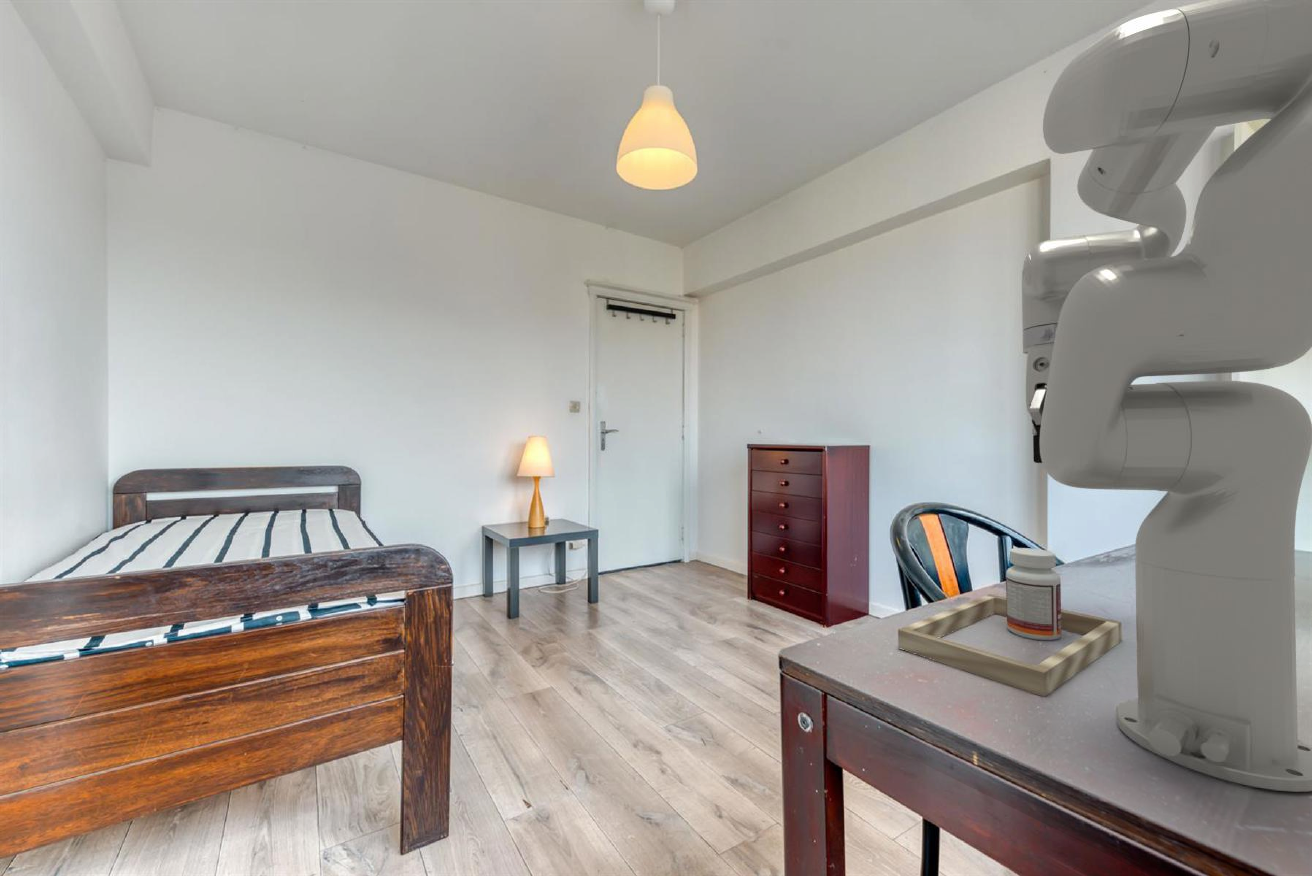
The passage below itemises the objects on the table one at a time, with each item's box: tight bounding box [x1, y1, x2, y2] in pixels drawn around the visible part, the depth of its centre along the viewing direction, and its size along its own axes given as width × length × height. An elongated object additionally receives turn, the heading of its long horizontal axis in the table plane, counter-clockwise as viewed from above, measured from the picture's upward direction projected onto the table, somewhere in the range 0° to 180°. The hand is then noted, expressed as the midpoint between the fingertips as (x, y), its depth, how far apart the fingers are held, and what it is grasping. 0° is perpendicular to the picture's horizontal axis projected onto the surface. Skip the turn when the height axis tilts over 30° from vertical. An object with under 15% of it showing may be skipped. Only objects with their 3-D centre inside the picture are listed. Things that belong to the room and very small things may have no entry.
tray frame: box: [897, 594, 1123, 698], centre depth 69 cm, size 26×16×2 cm, turn 125°
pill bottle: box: [1005, 547, 1062, 641], centre depth 73 cm, size 6×6×11 cm
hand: (1055, 461), depth 79 cm, fingers open, 5 cm apart
